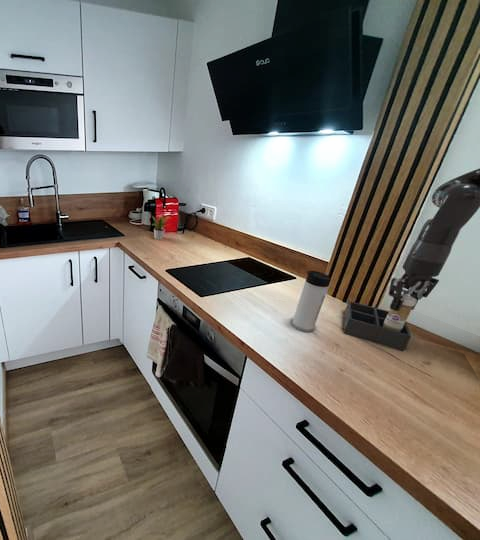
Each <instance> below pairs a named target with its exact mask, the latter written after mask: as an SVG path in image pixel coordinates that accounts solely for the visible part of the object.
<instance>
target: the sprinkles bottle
mask: <svg viewBox="0 0 480 540" xmlns="http://www.w3.org/2000/svg"><path fill="white" fill-rule="evenodd" d="M402 295H403V293H401V296H402ZM403 301H404V302H403V304H402V306H401V308H400V310H399V311H394V310H392V309H391V308H389V310H388V311H389V313H388V315H387V317H386V319H385V321H384V324H383V326H382V327H383V328H386V329H390V330H394V331H397V332H400V331H401V329H402V328H403V326H404V324H405V322H406V323H407V321H408V318H409V316H410V314H411V312H412V311H413V310H412V308H413V307H414V306H415V304H416V302H417V300H416V299H415V298H414V297H411V296H410V295H407V297H406V298H405V299H404V300H403ZM417 303H418V302H417ZM416 305H417V304H416ZM415 307H416V306H415Z"/></svg>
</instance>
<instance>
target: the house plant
mask: <svg viewBox="0 0 480 540" xmlns="http://www.w3.org/2000/svg"><path fill="white" fill-rule="evenodd" d="M158 216H159V218H158V219H157V218H155V216H153V215H151V217H152V219H153V223H151V226H154V229H153V234H154V240H156V241H162V240H163V239H164V237H165V233H166V230H165V228H166V227H167V226H169V225H170V224H167V223H166V222H168V221H169V218H170V217H169V216H170V215H168V216H166V217H165V218H163V214H158Z"/></svg>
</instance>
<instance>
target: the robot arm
mask: <svg viewBox="0 0 480 540" xmlns="http://www.w3.org/2000/svg"><path fill="white" fill-rule="evenodd" d="M430 199H431V203H432V204H433V205H434V206H435V207H437V208H438V210H437V211H436V213H435V214H434V215H433V217H432V218H429V219H426V221H425V222H424V223H423V225H422V227H421V228H420V230H419V232H418V235H417V237H416V239H415V240H414V242H413V243H412V245H411V248H409V252H408V254H407V255H406V258H405V260H404V262H403V265H402V269H403V270H404V273H403V274H402V276H401V277H400V278H396V277H393V278H392V279H391V280H390V284H389V285H390V286H389V290H388V296H390V297H392V301H391V302H390V305H389V309H392V310H394V311H399V310H400V308H401V306H402V304H403V302H404V301H403V300H404V299H405V298H406V297H407V295H409V296H411V297H414V298H415V299H416V300H417V302H416V304H415V306H414V307H413V308H412V310H411V311H414V310H415V308H416V306H417V304H418V302H419V300H420V301H421V300H422V299H423V298H427V297H428V296H429V295H430V294H431V293H432V291H433V290H434V289H435V288H436V286H437V284H439V282H440V279H438V278H436V277H438V276H440V274H441V272H442V270H443V268H444V266H445V264H446V262H447V260H448V258H449V256H450V255H451V253H452V249H453V246H454V244H455V242H456V240H457V238H458V236H459V234H460V232H461V230H462V228H464V226H466V225H467V224H468V222H469V221H470V219H472V218H473V217H474V215H475V214H476V213H477V212H478V210H479V209H480V167H479V168H477V169H474V170H471V171H469V172H466V173H464V174H461V175H459V176H457V177H454V178H452V179H450V180H448V181H446V182H444V183H443V184H441V185H440V186H438V187H437V188H436V189H435V190H434V191H433V192H432V194H431V197H430ZM401 294H403V295H402V296H401Z"/></svg>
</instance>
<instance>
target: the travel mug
mask: <svg viewBox="0 0 480 540" xmlns="http://www.w3.org/2000/svg"><path fill="white" fill-rule="evenodd" d="M306 274H307V276H306V279H305V282H304V284H303V288H302V290H301V293H300V297H299V300H298V303H297V305H296V310H295V312H294V315H293V319H292V322H291V325H292V326H293V328H294V329H296V330H298V331H301V332H303V333H311V332H313V331H314V329H315V325H316V323H317V320H318V318H319V315H320V312H321V309H322V306H323V303H324V300H325V298H326V295H327V293H328V290H329V286H330V283H331V282H332V278H331V277H329V275H328V274H325V273H323V272H320V271H317V270H308V271H307V273H306Z"/></svg>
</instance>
